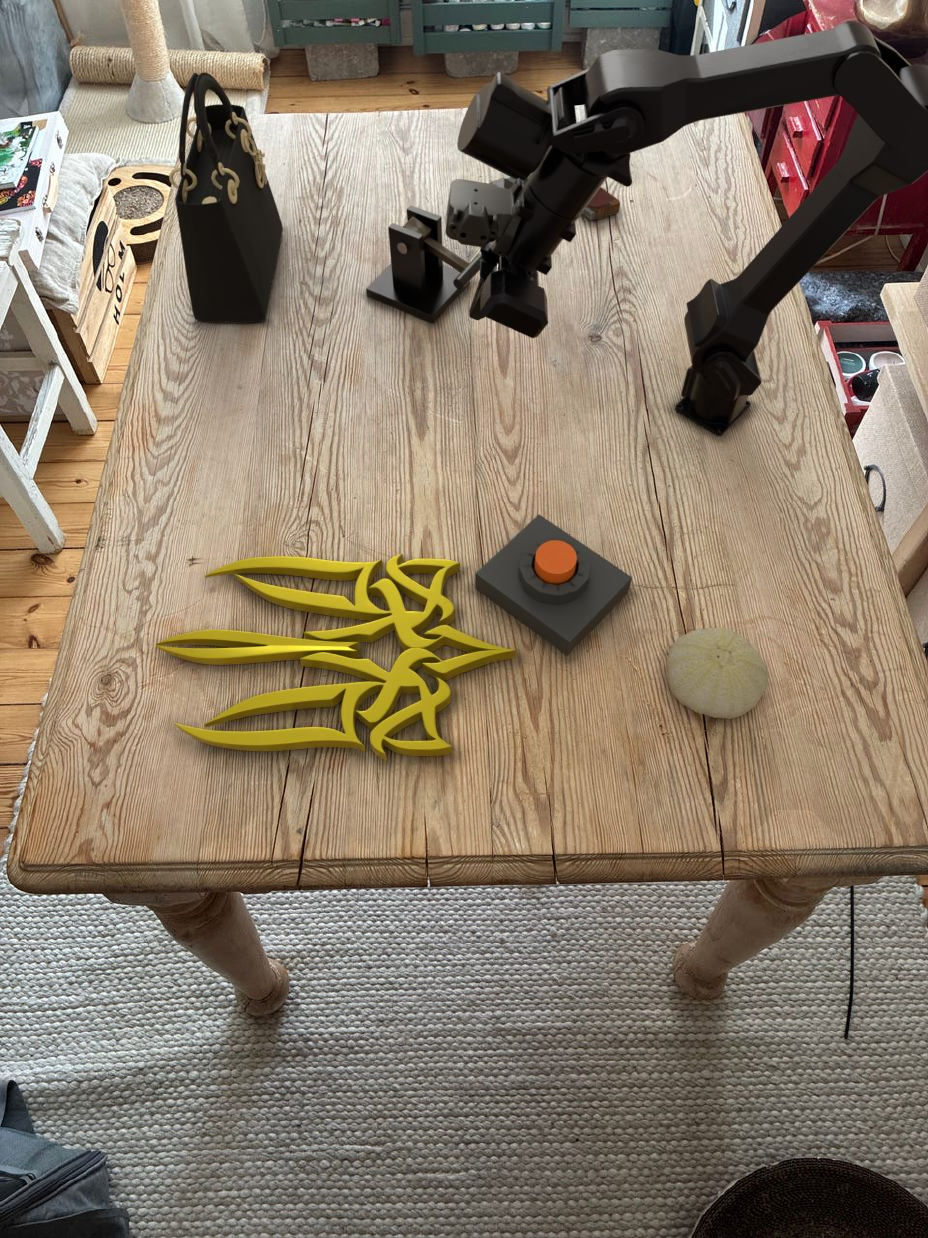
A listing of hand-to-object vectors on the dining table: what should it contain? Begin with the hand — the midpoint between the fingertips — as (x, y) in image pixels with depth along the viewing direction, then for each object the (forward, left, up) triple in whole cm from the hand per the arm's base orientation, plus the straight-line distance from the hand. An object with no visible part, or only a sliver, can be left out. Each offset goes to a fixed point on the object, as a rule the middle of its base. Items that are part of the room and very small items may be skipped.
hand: (473, 316), depth 97 cm
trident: (-12, +33, -14) cm, 38 cm away
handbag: (+38, +2, -14) cm, 41 cm away
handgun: (+18, -34, -14) cm, 41 cm away
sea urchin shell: (-41, +11, -14) cm, 44 cm away
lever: (+16, -12, -8) cm, 21 cm away
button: (-23, +13, -9) cm, 28 cm away
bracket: (+19, -11, -13) cm, 26 cm away
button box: (-23, +14, -13) cm, 30 cm away
